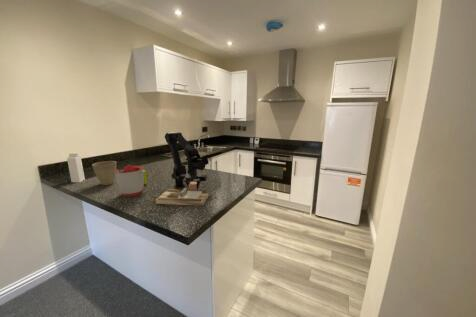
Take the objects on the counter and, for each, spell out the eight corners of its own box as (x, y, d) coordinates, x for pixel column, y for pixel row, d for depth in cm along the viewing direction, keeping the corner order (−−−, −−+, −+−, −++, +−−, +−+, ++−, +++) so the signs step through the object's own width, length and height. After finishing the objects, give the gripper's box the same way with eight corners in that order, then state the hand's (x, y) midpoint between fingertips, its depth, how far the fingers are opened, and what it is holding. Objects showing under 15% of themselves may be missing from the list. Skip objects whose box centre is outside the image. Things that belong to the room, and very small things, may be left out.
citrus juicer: (130, 187, 138) (127, 160, 134) (150, 190, 133) (147, 162, 129) (110, 196, 123) (106, 166, 119) (132, 199, 119) (128, 168, 114)
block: (191, 190, 134) (190, 181, 133) (198, 190, 134) (197, 182, 132) (188, 192, 129) (188, 184, 128) (196, 193, 129) (195, 184, 127)
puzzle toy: (142, 180, 153) (141, 168, 151) (147, 183, 146) (145, 171, 144) (128, 183, 147) (126, 171, 144) (132, 187, 140) (131, 173, 137)
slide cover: (185, 192, 124) (184, 186, 123) (202, 192, 123) (201, 187, 122) (178, 199, 113) (178, 193, 112) (196, 200, 112) (196, 194, 111)
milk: (77, 180, 155) (71, 153, 150) (85, 179, 155) (80, 152, 151) (71, 182, 149) (65, 154, 144) (79, 182, 149) (74, 154, 145)
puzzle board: (167, 194, 127) (166, 189, 126) (208, 195, 124) (208, 190, 124) (156, 203, 113) (155, 198, 113) (202, 205, 111) (202, 200, 110)
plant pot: (112, 179, 157) (109, 160, 153) (123, 182, 150) (120, 162, 146) (91, 185, 144) (87, 164, 140) (102, 188, 137) (98, 166, 133)
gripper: (173, 170, 121) (175, 193, 124) (202, 171, 119) (203, 195, 122) (180, 165, 131) (181, 187, 135) (207, 166, 130) (208, 188, 133)
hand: (193, 189), depth 131 cm, fingers closed on block, 5 cm apart
